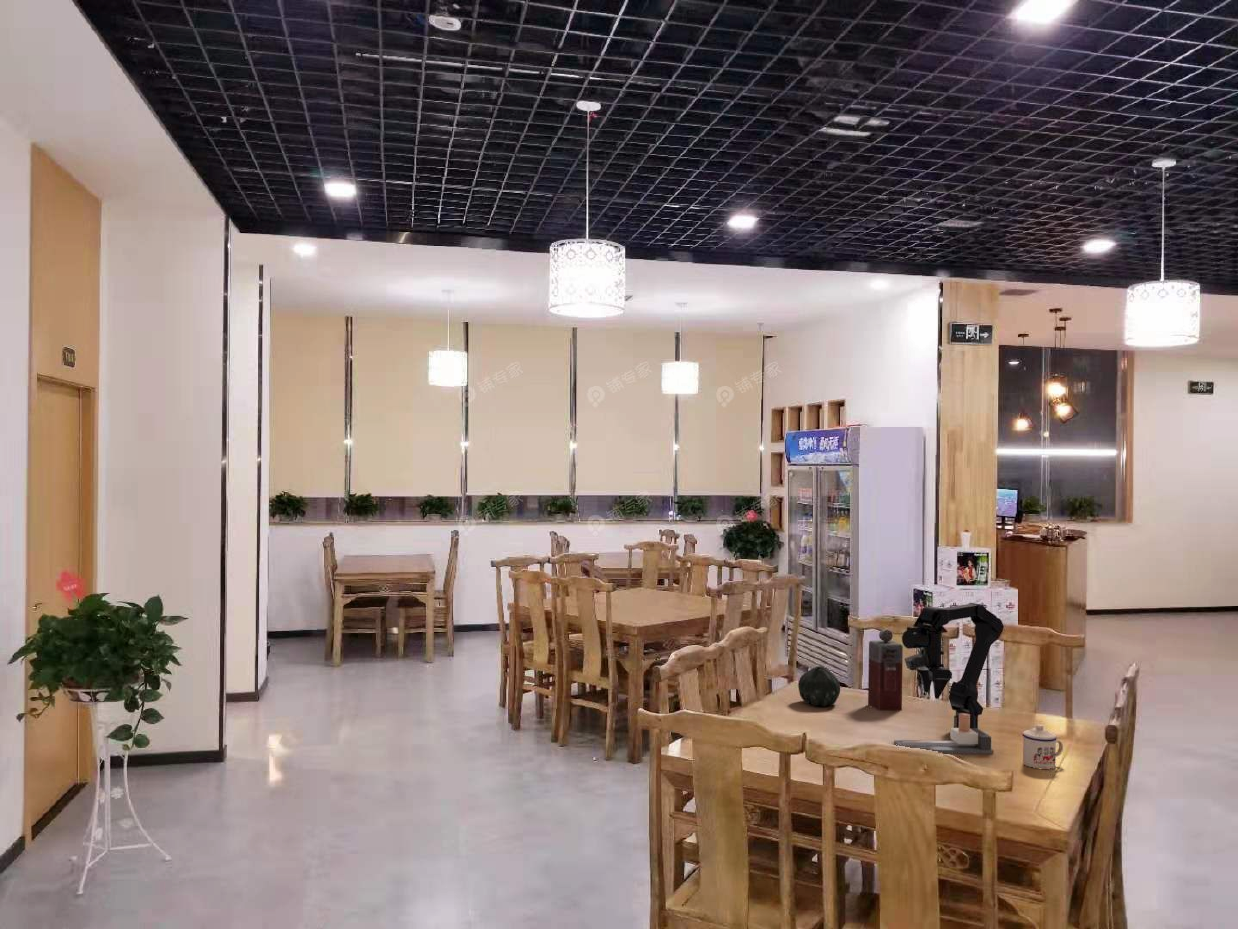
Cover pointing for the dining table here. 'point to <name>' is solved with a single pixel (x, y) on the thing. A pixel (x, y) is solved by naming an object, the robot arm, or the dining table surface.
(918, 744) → the track
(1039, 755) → the teacup with lid
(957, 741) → the keeper
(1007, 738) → the dining table surface
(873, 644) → the square decanter bottle
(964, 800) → the dining table surface
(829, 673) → the squash
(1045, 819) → the dining table surface
